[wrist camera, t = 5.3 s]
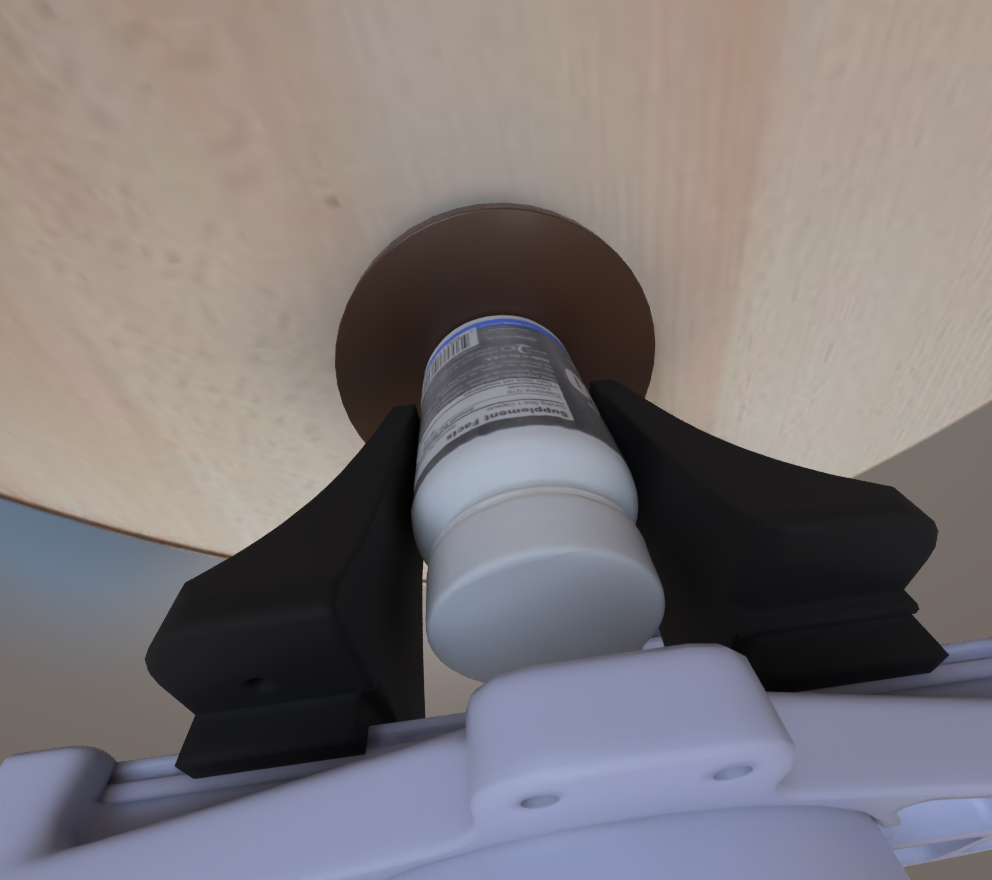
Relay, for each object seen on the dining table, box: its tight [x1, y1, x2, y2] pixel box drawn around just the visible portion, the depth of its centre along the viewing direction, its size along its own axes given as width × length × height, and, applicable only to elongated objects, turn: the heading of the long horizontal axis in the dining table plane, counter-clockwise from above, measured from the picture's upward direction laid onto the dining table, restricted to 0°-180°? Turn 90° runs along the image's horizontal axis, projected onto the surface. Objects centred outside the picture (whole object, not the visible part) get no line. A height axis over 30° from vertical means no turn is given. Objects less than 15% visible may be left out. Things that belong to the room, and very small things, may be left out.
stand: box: [335, 203, 655, 443], centre depth 15 cm, size 10×10×2 cm
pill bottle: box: [411, 315, 665, 683], centre depth 11 cm, size 5×5×8 cm
